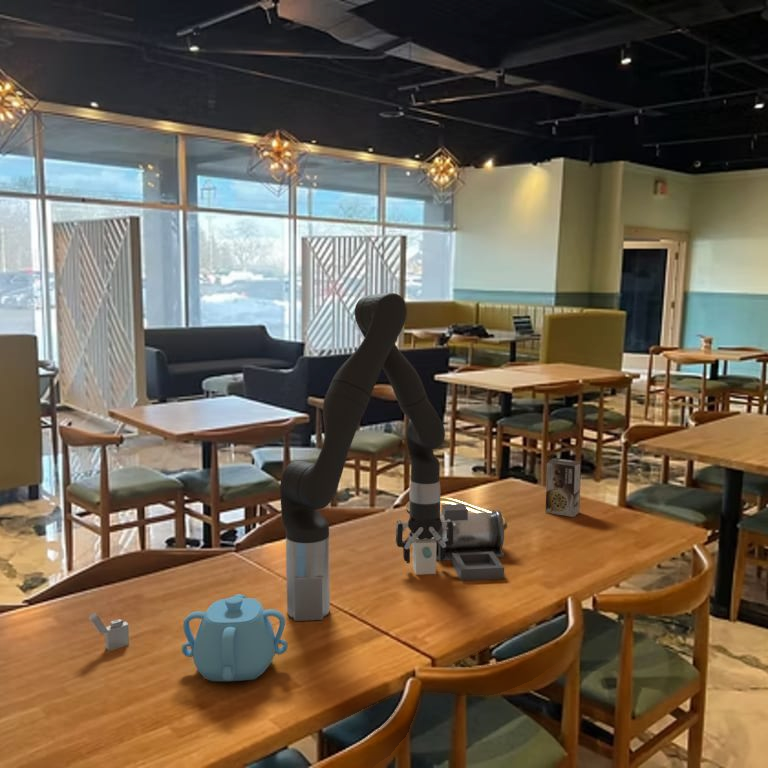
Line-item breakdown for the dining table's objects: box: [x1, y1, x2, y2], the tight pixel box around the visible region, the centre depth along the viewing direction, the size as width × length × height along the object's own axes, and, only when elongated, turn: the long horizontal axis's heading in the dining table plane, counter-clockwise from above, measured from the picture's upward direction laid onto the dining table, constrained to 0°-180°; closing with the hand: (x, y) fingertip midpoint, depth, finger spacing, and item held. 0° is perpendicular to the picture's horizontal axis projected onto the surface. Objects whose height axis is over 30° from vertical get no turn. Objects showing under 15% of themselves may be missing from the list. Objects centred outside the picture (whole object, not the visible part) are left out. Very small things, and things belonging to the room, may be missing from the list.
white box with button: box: [412, 537, 437, 576], centre depth 186 cm, size 7×5×8 cm
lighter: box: [88, 612, 130, 652], centre depth 147 cm, size 7×2×8 cm, turn 130°
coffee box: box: [545, 457, 582, 518], centre depth 231 cm, size 9×6×16 cm
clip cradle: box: [451, 551, 505, 582], centre depth 188 cm, size 13×11×3 cm
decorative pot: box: [181, 593, 289, 682], centre depth 140 cm, size 16×16×14 cm
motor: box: [434, 503, 505, 561], centre depth 200 cm, size 12×18×12 cm, turn 97°
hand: (424, 561), depth 187 cm, fingers open, 8 cm apart
